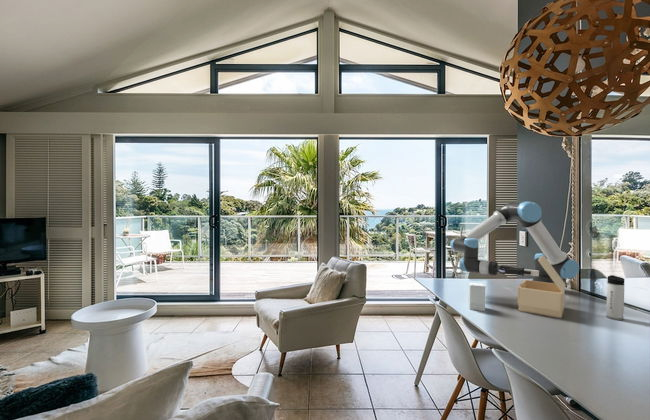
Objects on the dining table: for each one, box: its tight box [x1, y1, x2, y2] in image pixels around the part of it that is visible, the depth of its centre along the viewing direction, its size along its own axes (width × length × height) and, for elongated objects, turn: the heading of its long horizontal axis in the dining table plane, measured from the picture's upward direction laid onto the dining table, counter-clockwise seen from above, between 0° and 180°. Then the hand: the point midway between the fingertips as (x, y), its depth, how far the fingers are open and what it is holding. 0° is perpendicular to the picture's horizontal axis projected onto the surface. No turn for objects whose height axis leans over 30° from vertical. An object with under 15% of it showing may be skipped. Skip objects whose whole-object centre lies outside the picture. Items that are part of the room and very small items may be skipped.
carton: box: [516, 279, 566, 319], centre depth 177 cm, size 23×19×12 cm
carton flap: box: [538, 255, 567, 293], centre depth 174 cm, size 21×18×1 cm
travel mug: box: [605, 275, 625, 321], centre depth 164 cm, size 6×7×20 cm
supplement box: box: [468, 282, 486, 312], centre depth 177 cm, size 7×7×13 cm
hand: (538, 273), depth 176 cm, fingers closed
